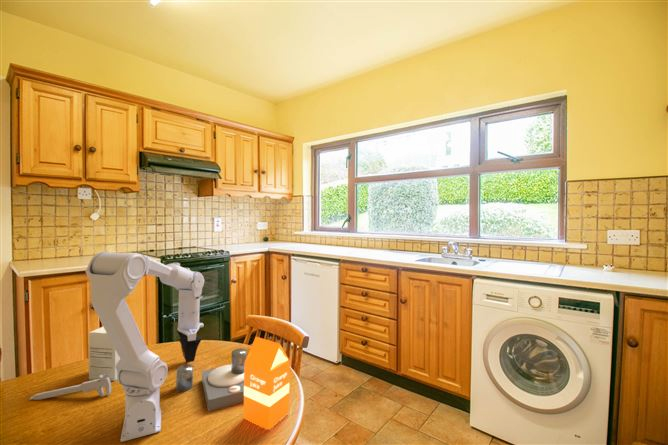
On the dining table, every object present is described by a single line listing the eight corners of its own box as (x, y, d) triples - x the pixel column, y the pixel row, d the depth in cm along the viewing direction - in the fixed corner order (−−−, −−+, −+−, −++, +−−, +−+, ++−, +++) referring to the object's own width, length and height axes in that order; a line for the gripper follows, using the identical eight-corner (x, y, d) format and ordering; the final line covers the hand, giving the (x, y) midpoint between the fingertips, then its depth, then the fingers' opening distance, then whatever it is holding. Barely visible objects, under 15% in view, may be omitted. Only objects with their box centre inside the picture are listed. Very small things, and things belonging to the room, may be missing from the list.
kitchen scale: (260, 397, 89) (261, 384, 88) (208, 411, 82) (208, 397, 82) (247, 370, 103) (247, 359, 103) (201, 380, 97) (202, 368, 97)
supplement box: (111, 365, 105) (111, 322, 104) (135, 367, 104) (136, 323, 104) (87, 379, 96) (87, 331, 95) (114, 382, 95) (114, 333, 95)
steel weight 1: (193, 389, 92) (193, 369, 92) (176, 393, 90) (176, 372, 90) (192, 382, 96) (192, 363, 96) (175, 385, 94) (176, 366, 93)
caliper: (111, 395, 89) (111, 373, 89) (109, 397, 88) (109, 375, 87) (31, 398, 86) (31, 376, 86) (28, 401, 85) (28, 378, 85)
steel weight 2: (248, 371, 95) (248, 352, 95) (234, 375, 93) (234, 356, 93) (243, 365, 99) (243, 347, 99) (229, 369, 96) (229, 350, 96)
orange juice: (264, 403, 86) (265, 332, 86) (289, 414, 81) (290, 339, 81) (242, 418, 79) (244, 341, 79) (268, 431, 75) (270, 349, 74)
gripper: (207, 316, 88) (206, 363, 89) (199, 303, 101) (199, 344, 101) (180, 319, 85) (179, 369, 85) (175, 306, 97) (175, 349, 97)
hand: (188, 356), depth 93 cm, fingers open, 7 cm apart
